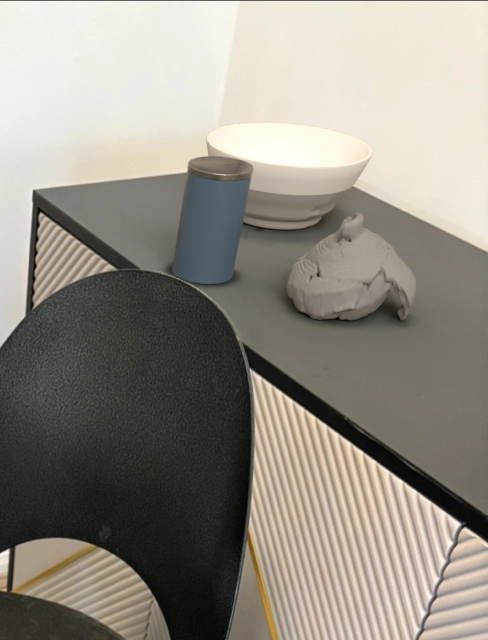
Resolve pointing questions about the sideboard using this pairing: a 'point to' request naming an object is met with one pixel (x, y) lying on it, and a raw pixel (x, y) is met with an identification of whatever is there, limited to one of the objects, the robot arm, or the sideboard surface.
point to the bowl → (291, 169)
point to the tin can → (211, 219)
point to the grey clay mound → (350, 275)
